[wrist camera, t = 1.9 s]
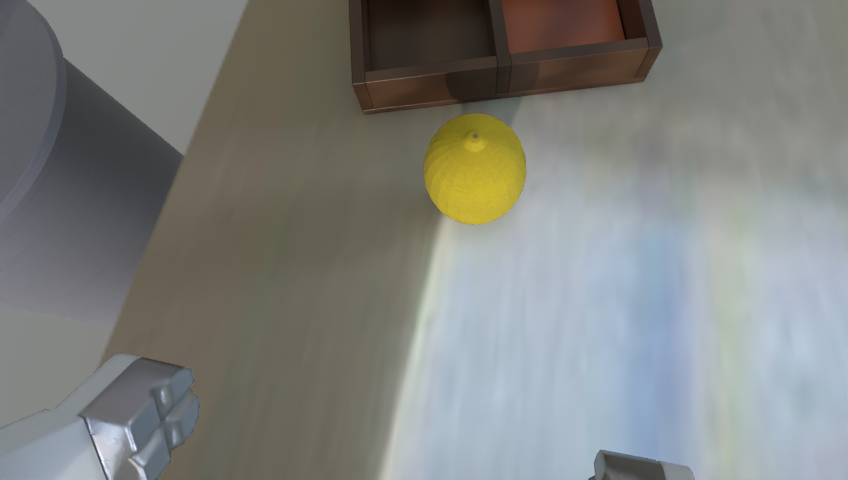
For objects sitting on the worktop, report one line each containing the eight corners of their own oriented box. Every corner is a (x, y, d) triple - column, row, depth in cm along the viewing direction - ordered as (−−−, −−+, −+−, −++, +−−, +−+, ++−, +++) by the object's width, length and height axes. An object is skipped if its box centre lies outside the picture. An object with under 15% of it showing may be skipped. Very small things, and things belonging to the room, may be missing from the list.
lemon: (482, 258, 30) (486, 213, 23) (412, 206, 32) (392, 146, 24) (537, 190, 31) (558, 125, 24) (466, 142, 33) (464, 65, 25)
